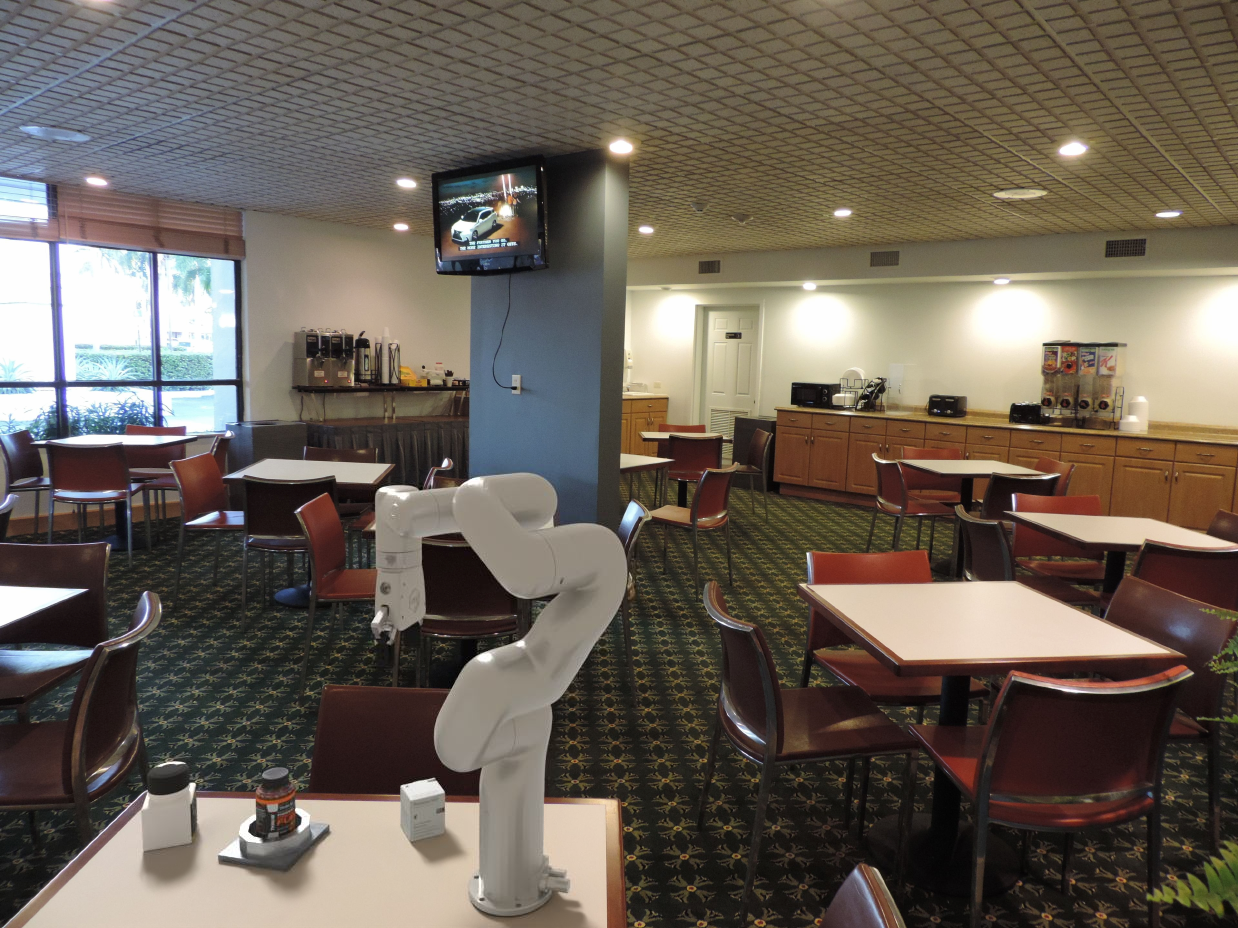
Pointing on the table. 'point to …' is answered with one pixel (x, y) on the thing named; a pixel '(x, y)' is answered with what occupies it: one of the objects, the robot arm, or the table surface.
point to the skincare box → (422, 809)
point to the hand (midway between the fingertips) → (399, 656)
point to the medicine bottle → (169, 807)
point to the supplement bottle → (275, 804)
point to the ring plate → (277, 861)
